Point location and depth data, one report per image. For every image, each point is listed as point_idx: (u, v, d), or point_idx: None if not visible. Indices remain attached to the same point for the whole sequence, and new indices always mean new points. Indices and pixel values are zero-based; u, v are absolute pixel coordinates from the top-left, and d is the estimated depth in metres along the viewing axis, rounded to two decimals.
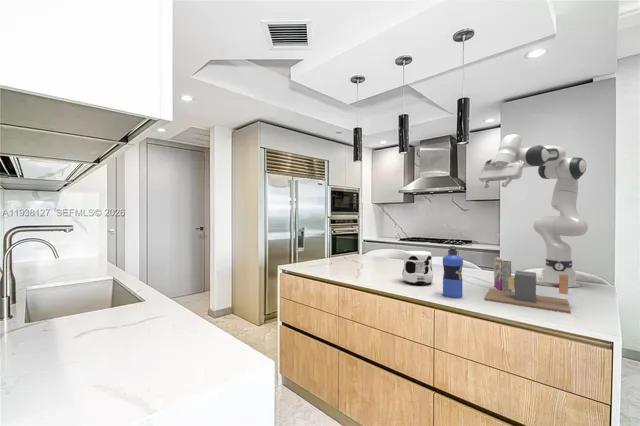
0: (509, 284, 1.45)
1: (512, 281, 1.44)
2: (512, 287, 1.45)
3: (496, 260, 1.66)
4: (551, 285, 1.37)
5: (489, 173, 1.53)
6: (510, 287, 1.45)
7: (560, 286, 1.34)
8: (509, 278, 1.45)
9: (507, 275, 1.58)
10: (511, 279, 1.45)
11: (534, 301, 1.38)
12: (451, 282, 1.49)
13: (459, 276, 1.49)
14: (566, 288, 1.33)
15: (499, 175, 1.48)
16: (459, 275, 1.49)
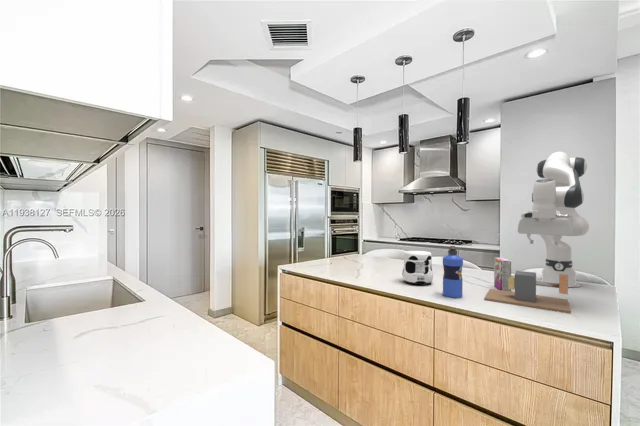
0: (509, 284, 1.45)
1: (512, 281, 1.44)
2: (512, 287, 1.45)
3: (496, 260, 1.66)
4: (551, 285, 1.37)
5: (532, 228, 1.40)
6: (510, 287, 1.45)
7: (560, 286, 1.34)
8: (509, 278, 1.45)
9: (507, 275, 1.58)
10: (511, 279, 1.45)
11: (534, 301, 1.38)
12: (451, 282, 1.49)
13: (459, 276, 1.49)
14: (566, 288, 1.33)
15: (548, 233, 1.37)
16: (459, 275, 1.49)
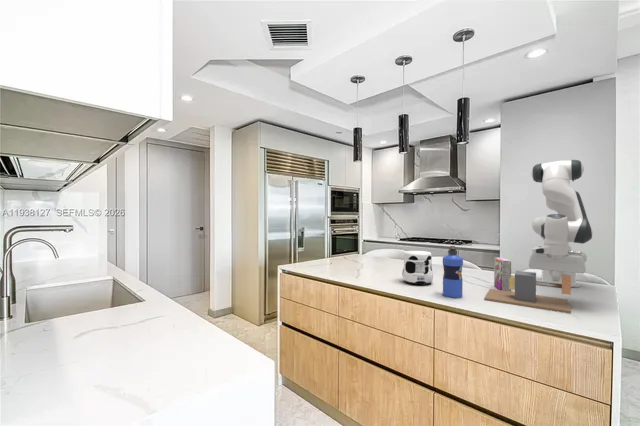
0: (510, 284, 1.45)
1: (513, 281, 1.44)
2: (513, 287, 1.44)
3: (496, 260, 1.66)
4: (554, 285, 1.37)
5: (544, 264, 1.38)
6: (511, 287, 1.45)
7: (563, 286, 1.34)
8: (510, 278, 1.45)
9: (507, 275, 1.58)
10: (512, 279, 1.45)
11: (534, 301, 1.38)
12: (451, 282, 1.49)
13: (459, 276, 1.49)
14: (568, 288, 1.33)
15: (560, 269, 1.35)
16: (459, 275, 1.49)
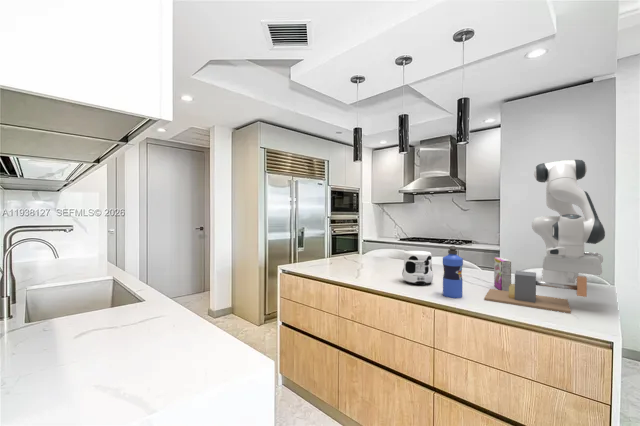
0: (509, 293, 1.45)
1: (512, 290, 1.44)
2: (512, 296, 1.45)
3: (496, 260, 1.66)
4: (569, 287, 1.34)
5: (559, 265, 1.35)
6: (510, 296, 1.45)
7: (578, 288, 1.31)
8: (510, 286, 1.45)
9: (507, 275, 1.58)
10: (511, 288, 1.45)
11: (534, 301, 1.38)
12: (451, 282, 1.49)
13: (459, 276, 1.49)
14: (584, 290, 1.30)
15: (576, 271, 1.31)
16: (459, 275, 1.49)
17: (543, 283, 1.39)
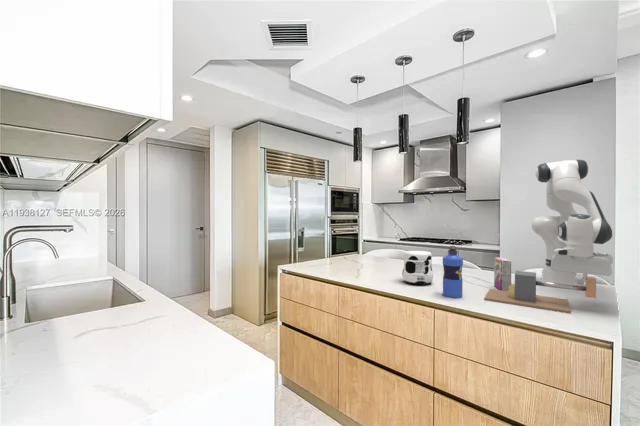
0: (509, 293, 1.45)
1: (512, 290, 1.44)
2: (512, 296, 1.45)
3: (496, 260, 1.66)
4: (577, 288, 1.32)
5: (567, 266, 1.33)
6: (510, 296, 1.45)
7: (587, 289, 1.29)
8: (509, 286, 1.45)
9: (507, 275, 1.58)
10: (511, 288, 1.45)
11: (534, 301, 1.38)
12: (451, 282, 1.49)
13: (459, 276, 1.49)
14: (593, 291, 1.28)
15: (585, 272, 1.30)
16: (459, 275, 1.49)
17: (551, 284, 1.37)
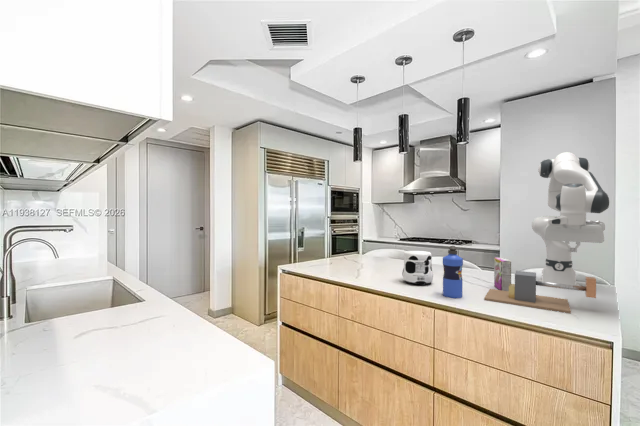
0: (509, 293, 1.45)
1: (512, 290, 1.44)
2: (512, 296, 1.45)
3: (496, 260, 1.66)
4: (577, 288, 1.32)
5: (560, 235, 1.34)
6: (510, 296, 1.45)
7: (587, 289, 1.29)
8: (509, 286, 1.45)
9: (507, 275, 1.58)
10: (511, 288, 1.45)
11: (534, 301, 1.38)
12: (451, 282, 1.49)
13: (459, 276, 1.49)
14: (593, 291, 1.28)
15: (578, 240, 1.31)
16: (459, 275, 1.49)
17: (551, 284, 1.37)
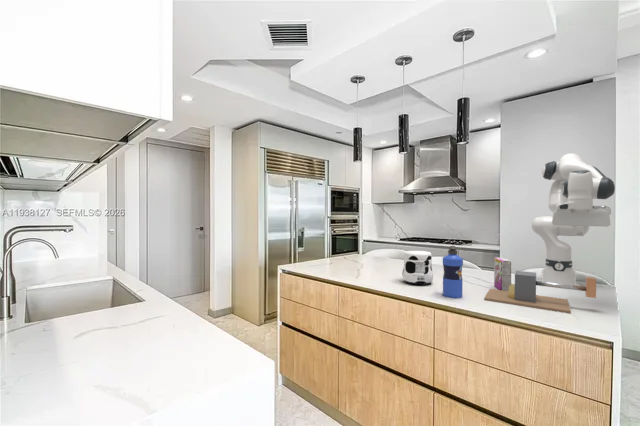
0: (509, 293, 1.45)
1: (512, 290, 1.44)
2: (512, 296, 1.45)
3: (496, 260, 1.66)
4: (577, 288, 1.32)
5: (568, 220, 1.40)
6: (510, 296, 1.45)
7: (587, 289, 1.29)
8: (509, 286, 1.45)
9: (507, 275, 1.58)
10: (511, 288, 1.45)
11: (534, 301, 1.38)
12: (451, 282, 1.49)
13: (459, 276, 1.49)
14: (593, 291, 1.28)
15: (585, 224, 1.36)
16: (459, 275, 1.49)
17: (551, 284, 1.37)
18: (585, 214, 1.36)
